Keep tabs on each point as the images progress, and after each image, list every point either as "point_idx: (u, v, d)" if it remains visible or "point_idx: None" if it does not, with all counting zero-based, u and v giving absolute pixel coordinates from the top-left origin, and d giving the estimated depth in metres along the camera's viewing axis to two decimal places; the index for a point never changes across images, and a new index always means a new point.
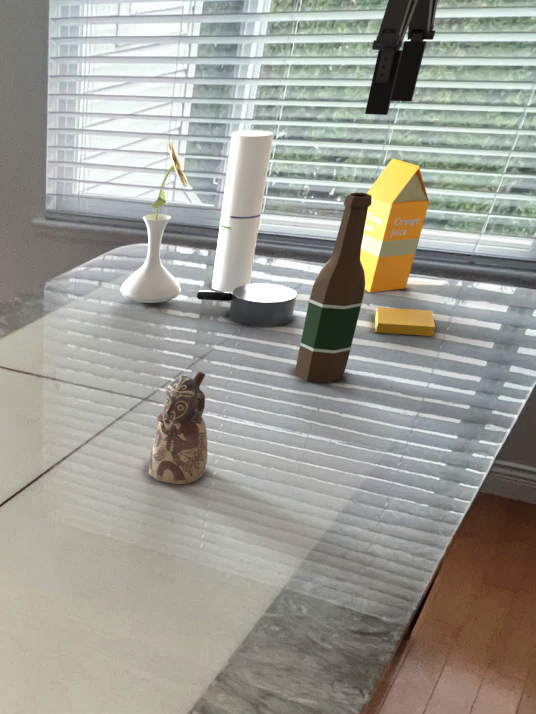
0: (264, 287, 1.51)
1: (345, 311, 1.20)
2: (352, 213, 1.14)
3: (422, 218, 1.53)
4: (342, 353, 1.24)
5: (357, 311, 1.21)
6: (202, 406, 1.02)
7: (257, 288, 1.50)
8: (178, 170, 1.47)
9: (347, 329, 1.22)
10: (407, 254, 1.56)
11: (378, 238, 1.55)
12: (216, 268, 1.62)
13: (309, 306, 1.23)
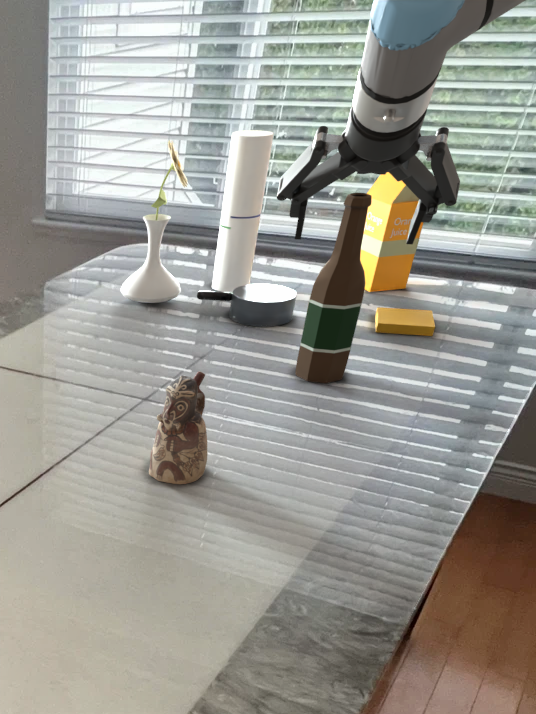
0: (264, 287, 1.51)
1: (345, 311, 1.20)
2: (352, 213, 1.14)
3: None
4: (342, 353, 1.24)
5: (357, 311, 1.21)
6: (202, 406, 1.02)
7: (257, 288, 1.50)
8: (178, 170, 1.47)
9: (347, 329, 1.22)
10: (407, 254, 1.56)
11: (379, 238, 1.55)
12: (216, 268, 1.62)
13: (309, 306, 1.23)
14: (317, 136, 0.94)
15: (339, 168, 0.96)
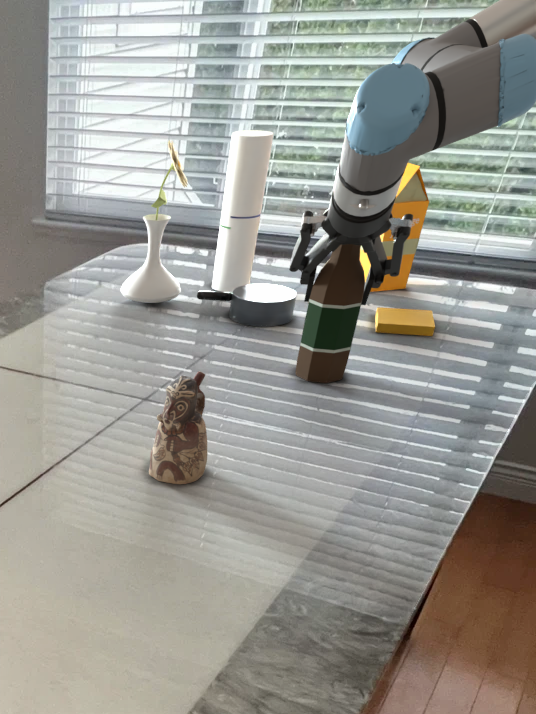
0: (264, 287, 1.51)
1: (344, 311, 1.20)
2: None
3: (422, 218, 1.53)
4: (342, 353, 1.24)
5: (357, 311, 1.21)
6: (202, 406, 1.02)
7: (257, 288, 1.50)
8: (178, 170, 1.47)
9: (347, 329, 1.22)
10: (407, 254, 1.56)
11: None
12: (216, 268, 1.62)
13: (309, 306, 1.23)
14: (302, 220, 1.11)
15: (328, 243, 1.12)
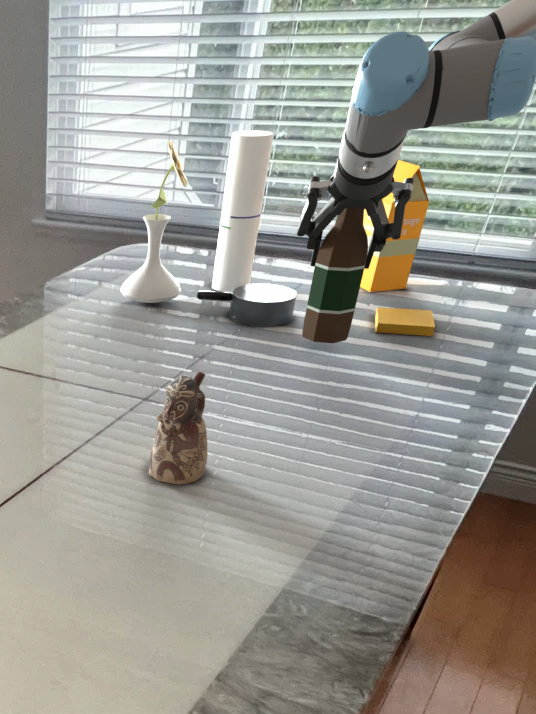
0: (264, 287, 1.51)
1: (349, 273, 1.27)
2: None
3: (422, 218, 1.53)
4: (346, 314, 1.32)
5: (361, 273, 1.28)
6: (202, 406, 1.02)
7: (257, 288, 1.50)
8: (178, 170, 1.47)
9: (351, 291, 1.29)
10: (407, 254, 1.56)
11: None
12: (216, 268, 1.62)
13: (315, 269, 1.30)
14: (310, 185, 1.18)
15: (334, 207, 1.20)
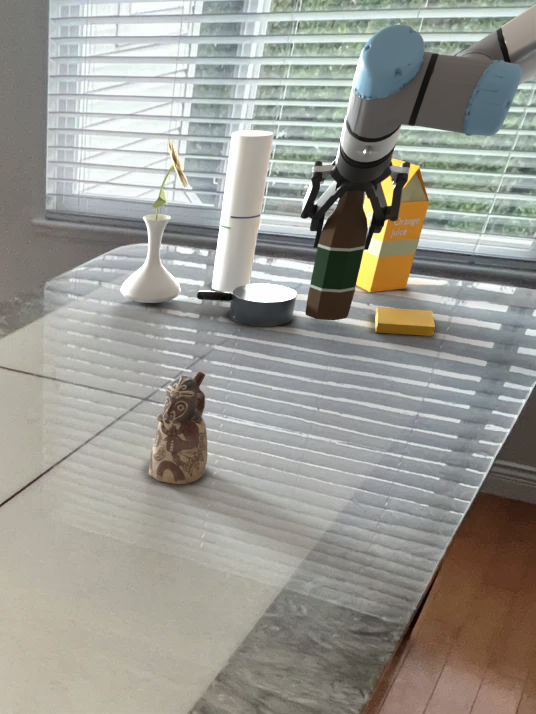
0: (264, 287, 1.51)
1: (350, 253, 1.35)
2: None
3: (422, 218, 1.53)
4: (347, 292, 1.40)
5: (361, 253, 1.36)
6: (202, 406, 1.02)
7: (257, 288, 1.50)
8: (178, 170, 1.47)
9: (351, 270, 1.37)
10: (407, 254, 1.56)
11: (379, 238, 1.55)
12: (216, 268, 1.62)
13: (318, 250, 1.38)
14: (313, 169, 1.26)
15: (335, 190, 1.28)
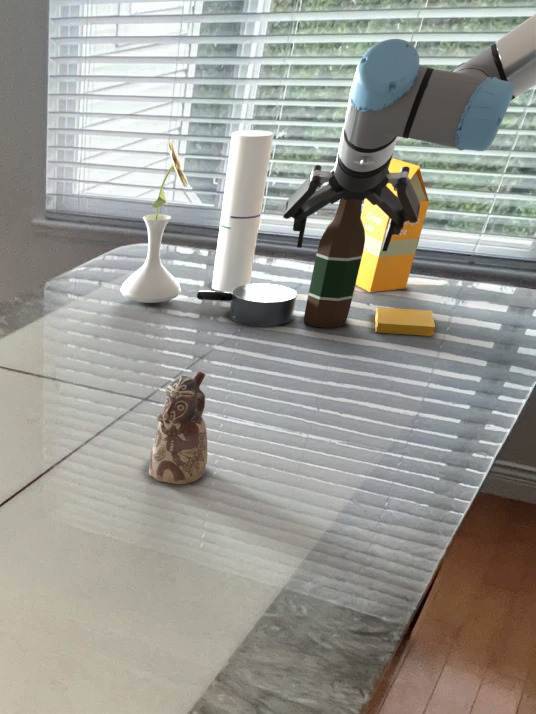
0: (264, 287, 1.51)
1: (347, 263, 1.38)
2: None
3: (422, 218, 1.53)
4: (344, 301, 1.43)
5: (358, 263, 1.39)
6: (202, 406, 1.02)
7: (257, 288, 1.50)
8: (178, 170, 1.47)
9: (349, 279, 1.40)
10: (407, 254, 1.56)
11: (379, 238, 1.55)
12: (216, 268, 1.62)
13: (316, 259, 1.41)
14: (313, 172, 1.27)
15: (330, 195, 1.29)
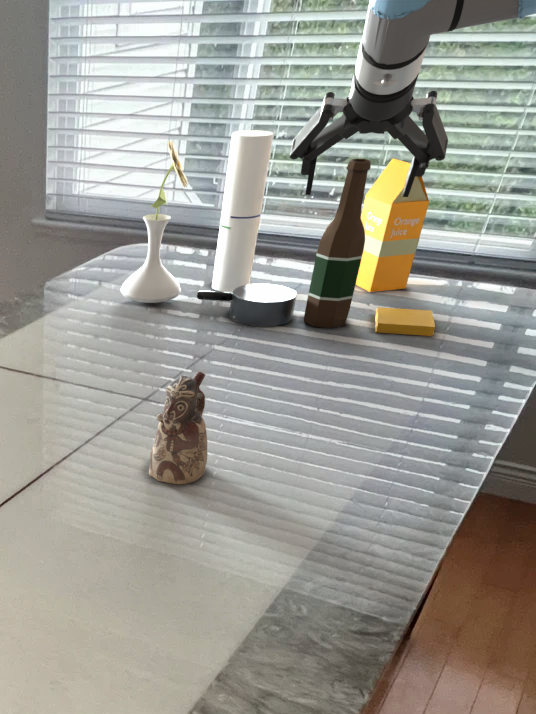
0: (264, 287, 1.51)
1: (347, 263, 1.38)
2: (354, 176, 1.32)
3: (422, 218, 1.53)
4: (344, 301, 1.43)
5: (358, 263, 1.39)
6: (202, 406, 1.02)
7: (257, 288, 1.50)
8: (178, 170, 1.47)
9: (349, 279, 1.40)
10: (407, 254, 1.56)
11: (379, 238, 1.55)
12: (216, 268, 1.62)
13: (316, 259, 1.41)
14: (325, 101, 1.10)
15: (344, 128, 1.12)
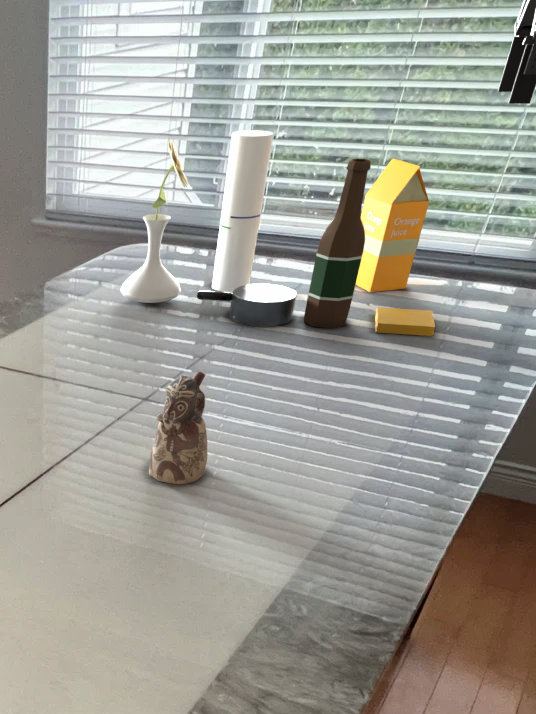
0: (264, 287, 1.51)
1: (347, 263, 1.38)
2: (354, 176, 1.32)
3: (422, 218, 1.53)
4: (344, 301, 1.43)
5: (358, 263, 1.39)
6: (202, 406, 1.02)
7: (257, 288, 1.50)
8: (178, 170, 1.47)
9: (349, 279, 1.40)
10: (407, 254, 1.56)
11: (379, 238, 1.55)
12: (216, 268, 1.62)
13: (316, 259, 1.41)
14: None
15: None
